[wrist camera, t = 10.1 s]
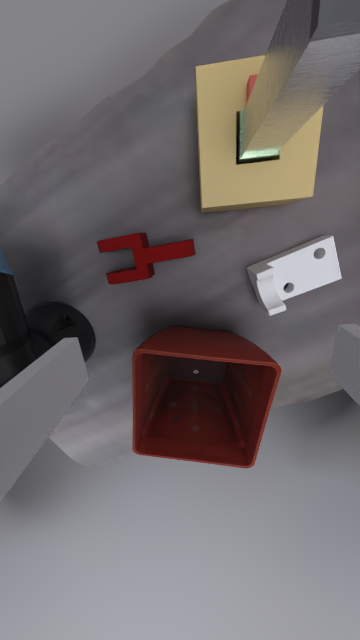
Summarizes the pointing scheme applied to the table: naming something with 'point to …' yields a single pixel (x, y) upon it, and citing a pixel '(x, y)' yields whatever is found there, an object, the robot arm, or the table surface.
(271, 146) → the column
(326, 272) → the bracket
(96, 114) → the table surface
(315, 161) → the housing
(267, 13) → the table surface
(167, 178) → the table surface
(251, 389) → the plant pot
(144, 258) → the mechanical linkage
